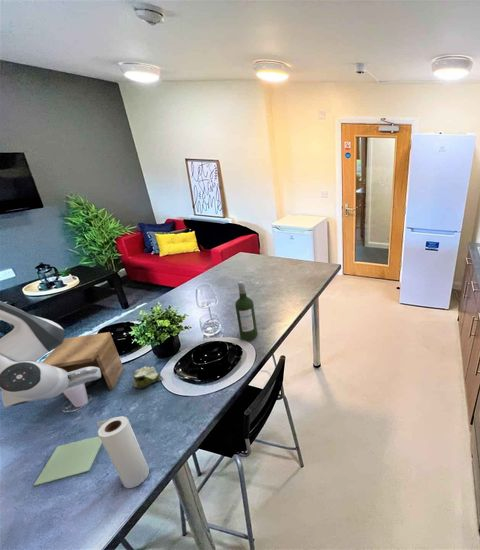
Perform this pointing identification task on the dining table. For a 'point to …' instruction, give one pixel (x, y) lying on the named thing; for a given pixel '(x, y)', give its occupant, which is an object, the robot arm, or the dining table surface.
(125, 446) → the paper towel roll
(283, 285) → the dining table surface
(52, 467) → the mat
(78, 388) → the smoothie
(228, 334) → the dining table surface
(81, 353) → the desk
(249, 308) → the wine bottle
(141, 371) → the mossy rock
